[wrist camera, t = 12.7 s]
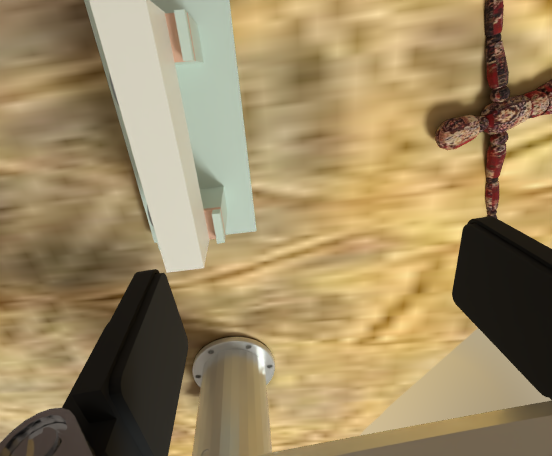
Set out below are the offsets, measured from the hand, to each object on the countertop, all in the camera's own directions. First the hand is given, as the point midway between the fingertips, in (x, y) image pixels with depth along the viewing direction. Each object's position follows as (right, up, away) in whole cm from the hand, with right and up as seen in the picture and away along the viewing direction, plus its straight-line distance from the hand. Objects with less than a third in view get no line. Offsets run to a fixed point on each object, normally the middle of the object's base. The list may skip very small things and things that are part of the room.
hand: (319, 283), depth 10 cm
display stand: (-11, +12, +23) cm, 28 cm away
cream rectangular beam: (-10, +9, +16) cm, 20 cm away
